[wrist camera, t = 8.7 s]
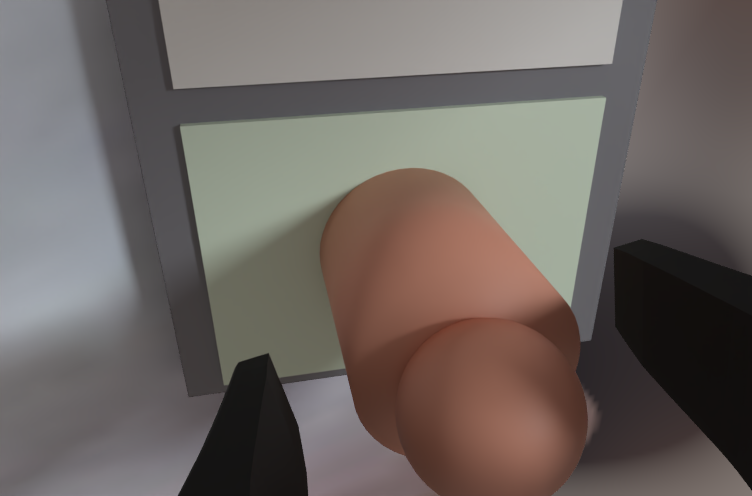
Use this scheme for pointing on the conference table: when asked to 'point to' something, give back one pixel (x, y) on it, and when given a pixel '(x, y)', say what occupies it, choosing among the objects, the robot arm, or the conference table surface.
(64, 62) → the conference table surface
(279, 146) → the game board
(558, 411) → the pawn
